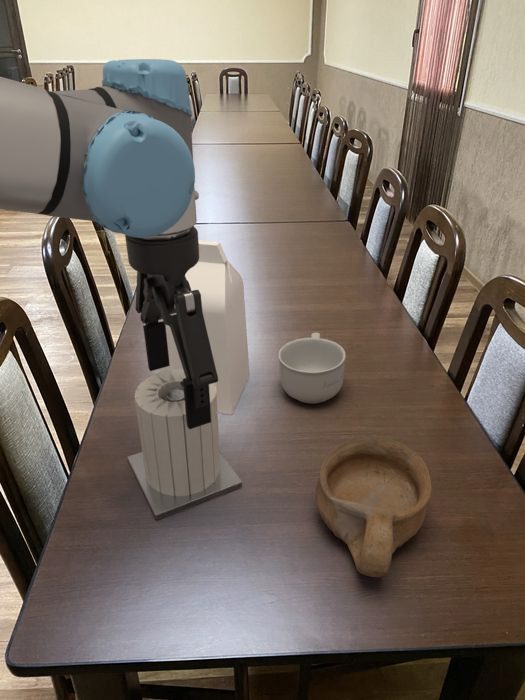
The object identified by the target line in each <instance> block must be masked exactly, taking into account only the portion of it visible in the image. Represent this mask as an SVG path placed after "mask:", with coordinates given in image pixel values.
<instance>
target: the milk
mask: <svg viewBox="0 0 525 700" xmlns="http://www.w3.org/2000/svg"><path fill="white" fill-rule="evenodd" d="M198 243H199V261H198V263H197V264H196V265H195V266H194V267H192V268H191V269H189V270H188V271H187V273H186V274H185V277H186V280H188V282H189V285H190V288H191V291H193V290H199V292H200V294H201V302H202V311H203V316H204V320H205V325H206V329H207V333H208V338H209V342H210V346H211V350H212V355H213V359H214V363H215V368H216V372H217V375H218V382H216V383H215V384H216V390H217V412H218V414H224V415H229V416H232V415H233V414H234V412H235V410H236V407H237V406H238V403H239V401H240V398H241V396H242V393H243V391H244V390H245V387H246V385H247V382H248V380H249V378H250V377H251V376H250V375H251V374H250V359H249V347H248V346H249V345H248V333H247V331H248V329H247V317H246V316H247V315H246V314H247V313H246V302H245V301H246V300H245V286H244V280H243V277H242V275H241V274H240V273H239V272H238V270H237V269H236V268H235V267H234V266H233V265H232V263H231V262H229V260H228V258H227V255H226V253H225V251H224V248H223V246H222V244H221V242H219V241H210V240H209V241H208V240H198ZM170 315H176V313H174V314H170ZM161 321H163V319H161V320H158V322H161ZM165 325H166V324H165ZM166 335H167V344H168V354H169V364H170V366H168V367H164V368H160V369H158V370H159V373H160V372H163V371H167V370H169V371H170V370H178V369H183V367H182V363H181V360H180V357H179V354H178V351H177V348H176V344H175V341H174V338H173V335H172V332H171V328H170V326H168V325H166Z"/></svg>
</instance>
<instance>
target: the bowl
mask: <svg viewBox="0 0 525 700" xmlns="http://www.w3.org/2000/svg"><path fill="white" fill-rule="evenodd" d="M431 479H432V478H431V475H430V472H429V468H428V466H427V465H426V463H425V461H424V460H423V458H422V457H421V456H419V454H418V453H417V452H415V451H414V450H412V449H411V448H410V447H408V446H407V445H405V444H404V443H402V442H400V441H398V440H396V439H393V438H387V437H381V436H371V437H364V438H352V439H349V440H346V441H343V442H342V443H341V444H338V445H336V446H335V447H334V448H333V449H332V450H330V451H329V452H328V453H327V454H326V456H324V458H323V460H322V462H321V465H320V467H319V474H318V479H317V483H316V487H315V502H316V503H315V504H316V509H317V511H318V513H319V514H320V517H321V519H322V521H323V522H324V524H326V526H327V528H328V529H329V531H331V532H333V535H334V536H335V537H336V538H338V539H340V540H341V541H342V542H344V544H347V547H348V550H349V552H350V555H351V556H352V559H353V561H354V564H355V567H356V570H357V572H358V573H359V574H362V575H364V576H366V577H371V578H382V577H386V576H387V575H388V574H389V571H390V569H391V564H392V559H393V558H392V557H393V554H394V553H395V552H396V550H397V549H398V548H401V547H402V546H403V545H404V544H405V542H408V541H409V540H410V539H411V538H413V537H414V536H415V535H417V533H418V532H419V530H420V529H421V528H422V526H423V523H424V521H425V518H426V515H427V509H428V504H429V502H430V500H431V496H432V490H433V486H432V485H433V484H432V480H431Z"/></svg>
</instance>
